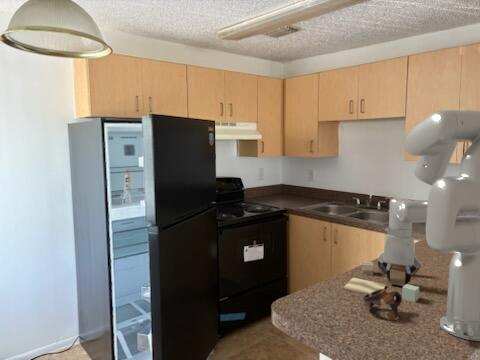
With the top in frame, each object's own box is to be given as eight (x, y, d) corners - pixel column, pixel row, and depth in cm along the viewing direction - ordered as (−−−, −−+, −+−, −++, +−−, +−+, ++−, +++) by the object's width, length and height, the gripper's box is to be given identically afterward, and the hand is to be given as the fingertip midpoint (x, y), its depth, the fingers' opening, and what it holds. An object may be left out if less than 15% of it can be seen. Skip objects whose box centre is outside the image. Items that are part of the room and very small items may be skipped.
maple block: (373, 275, 143) (373, 265, 142) (362, 274, 144) (362, 264, 144) (372, 272, 147) (373, 262, 146) (362, 271, 148) (362, 261, 147)
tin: (377, 273, 146) (378, 252, 145) (377, 270, 149) (377, 250, 148) (419, 277, 141) (420, 255, 140) (417, 274, 144) (418, 253, 143)
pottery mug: (385, 326, 104) (371, 298, 106) (366, 326, 112) (354, 300, 114) (415, 308, 108) (401, 281, 110) (394, 309, 117) (382, 284, 119)
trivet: (378, 297, 122) (378, 295, 122) (342, 289, 129) (342, 287, 129) (386, 285, 132) (386, 284, 132) (352, 279, 139) (352, 277, 139)
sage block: (414, 302, 119) (415, 290, 118) (401, 298, 121) (402, 287, 121) (418, 298, 121) (419, 287, 121) (406, 295, 124) (406, 283, 124)
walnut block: (404, 286, 130) (405, 272, 129) (389, 283, 132) (390, 270, 132) (407, 282, 134) (407, 268, 133) (392, 279, 136) (392, 266, 136)
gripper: (373, 231, 133) (371, 280, 134) (425, 237, 124) (423, 290, 125) (377, 228, 139) (376, 274, 141) (427, 233, 130) (425, 283, 131)
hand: (398, 281), depth 133 cm, fingers closed on walnut block, 5 cm apart
